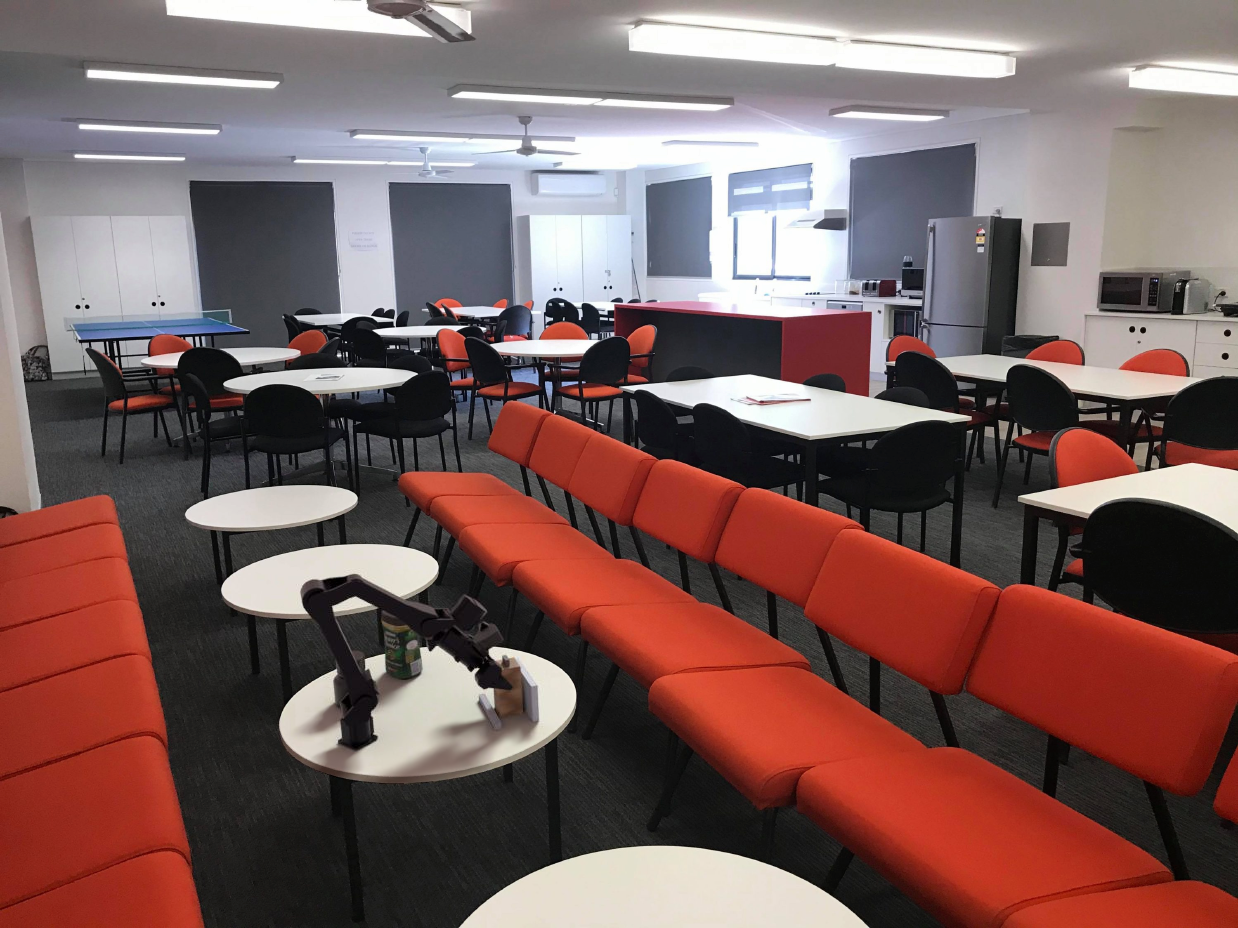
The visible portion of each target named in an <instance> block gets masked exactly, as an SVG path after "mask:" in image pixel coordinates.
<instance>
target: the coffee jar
mask: <svg viewBox="0 0 1238 928" xmlns="http://www.w3.org/2000/svg"><path fill="white" fill-rule="evenodd" d="M380 618H381V619H380V620H381V623H382V624H381V625H382V629H383V635H384V637H383V638H384V664H385V665H384V667H385V671H386V673H387V674H389V675H390V676H393V677H395V678H397V679H401V680H405V679H410V678H414V677H416V676H418V675H419V674H421V673H422V672H423V669H424V668H423V660H422V654H421V645H420V635H418V634H417V633H416V632H414V631H413V630H412V629H410V628H409V627H408V626H407V625H406V624H405V623H404V622H403V621H402V620H400V619H399V618H397V617H395V616H393V615H391V614H389V613H387V612H385V611H383V610H381V617H380Z"/></svg>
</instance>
